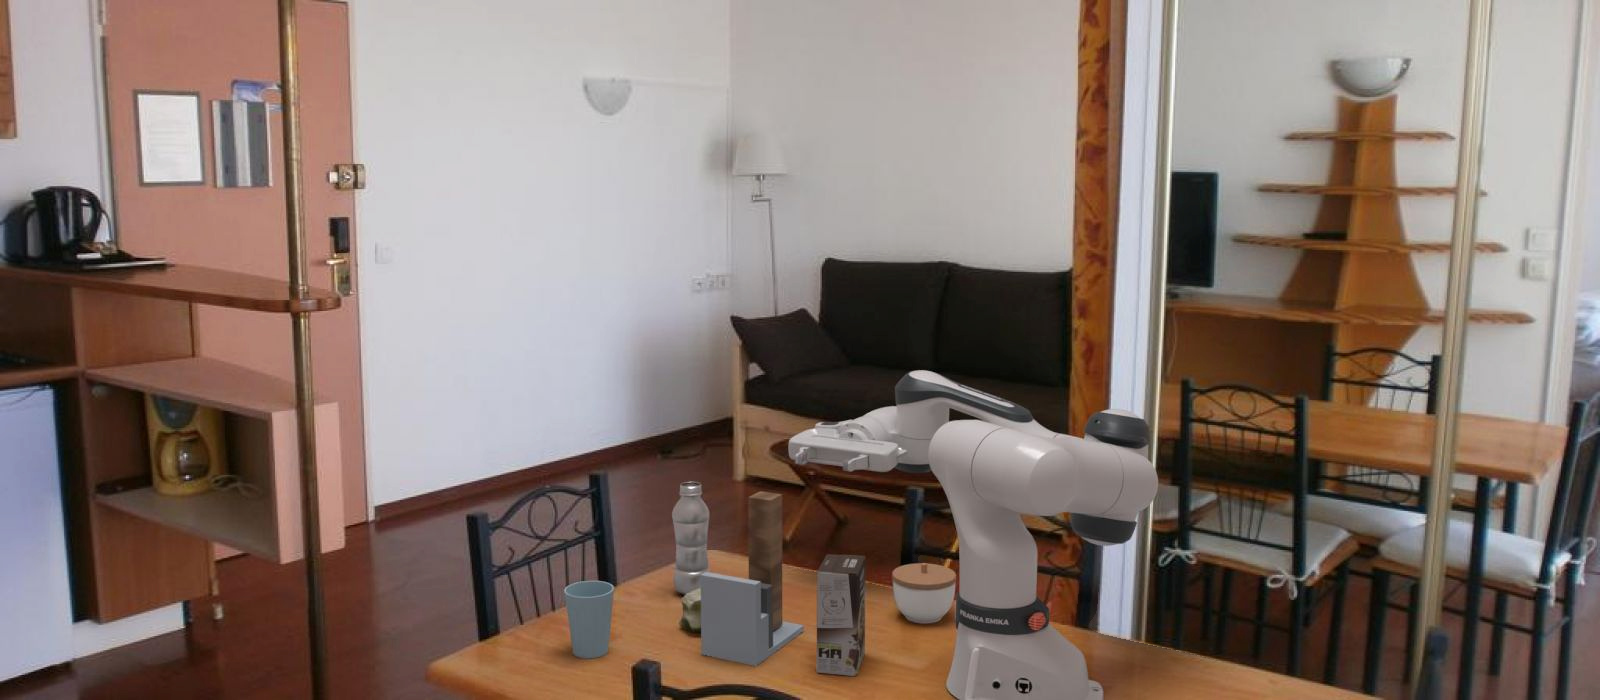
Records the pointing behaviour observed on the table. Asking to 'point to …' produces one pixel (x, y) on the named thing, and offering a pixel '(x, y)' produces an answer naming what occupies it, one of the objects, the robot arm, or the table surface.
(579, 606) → the cup
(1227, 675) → the table surface
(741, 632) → the blue-grey stand
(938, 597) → the lidded jar
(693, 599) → the rock
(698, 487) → the plastic bottle
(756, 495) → the peg
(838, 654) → the coffee box
